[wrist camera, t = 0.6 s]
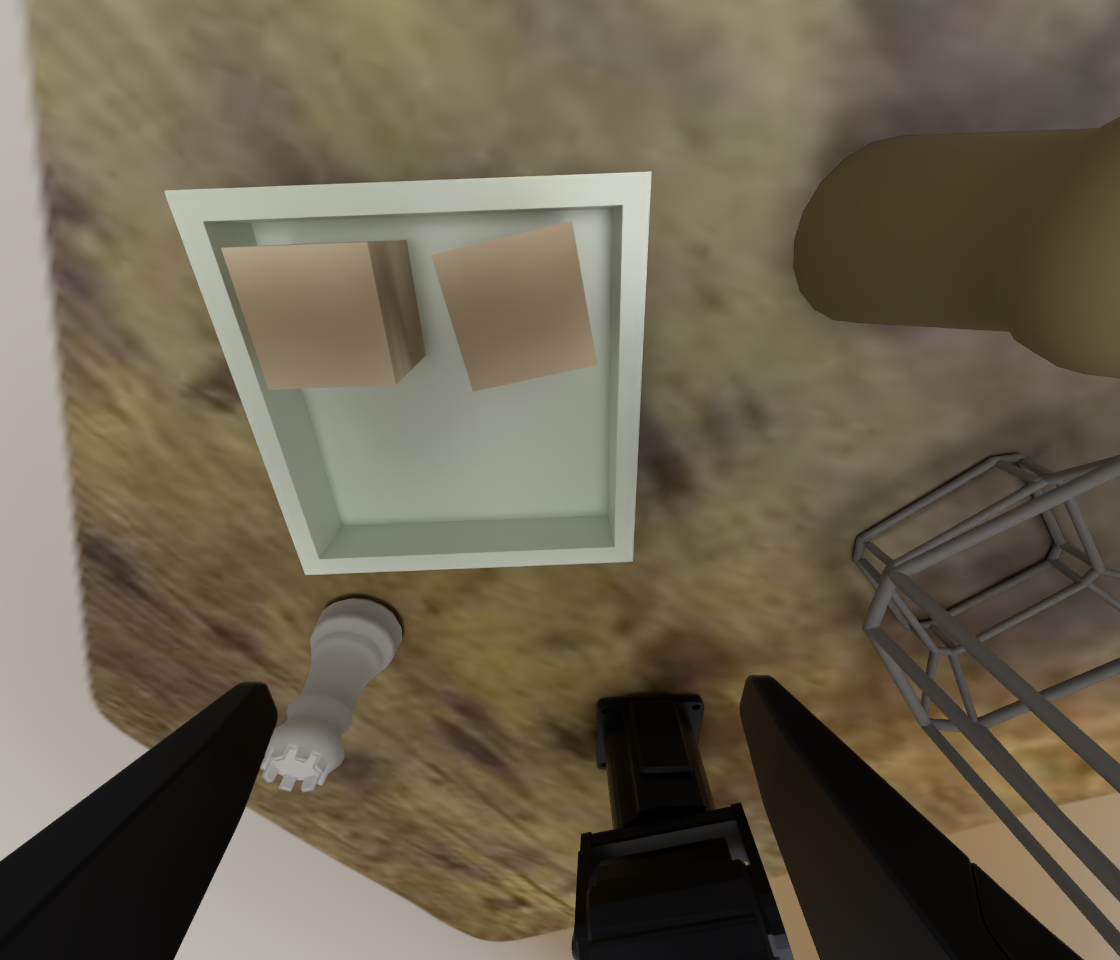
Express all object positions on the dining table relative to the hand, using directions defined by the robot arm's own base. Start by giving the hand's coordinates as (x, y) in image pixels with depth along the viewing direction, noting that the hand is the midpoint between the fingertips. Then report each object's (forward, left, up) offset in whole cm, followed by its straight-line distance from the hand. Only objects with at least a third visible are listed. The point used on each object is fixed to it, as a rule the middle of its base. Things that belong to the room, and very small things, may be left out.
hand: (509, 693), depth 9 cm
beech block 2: (+6, 0, -13) cm, 14 cm away
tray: (+2, +3, -13) cm, 14 cm away
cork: (+7, -13, -13) cm, 20 cm away
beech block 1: (+6, +6, -13) cm, 15 cm away
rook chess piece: (-11, +10, -13) cm, 20 cm away
